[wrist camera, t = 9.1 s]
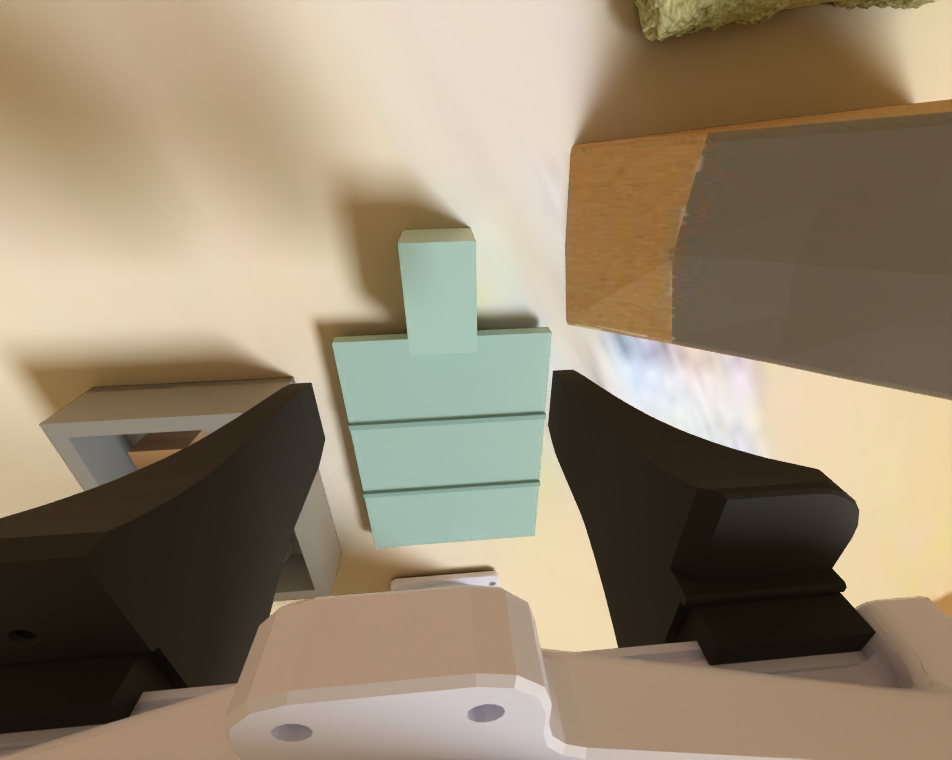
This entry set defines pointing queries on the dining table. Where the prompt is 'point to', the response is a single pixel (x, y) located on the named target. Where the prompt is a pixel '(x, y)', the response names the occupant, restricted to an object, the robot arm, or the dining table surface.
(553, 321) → the dining table surface
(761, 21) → the washcloth
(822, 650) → the robot arm
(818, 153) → the sandwich container
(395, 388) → the mint green stepped piece
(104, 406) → the tub
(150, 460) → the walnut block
